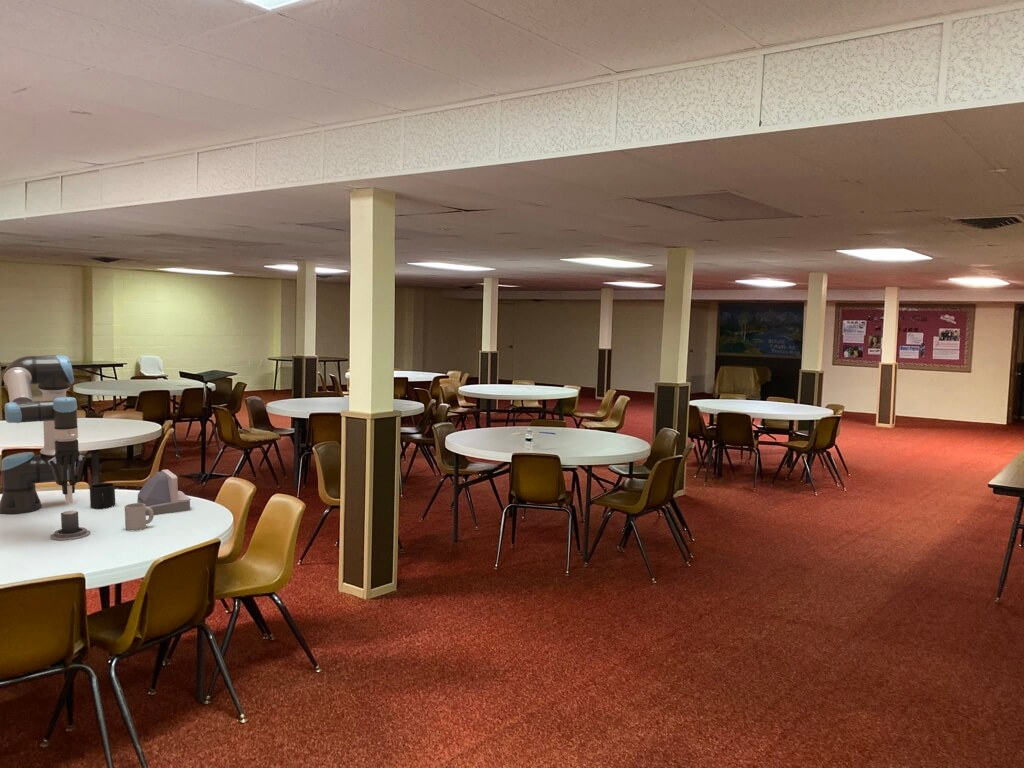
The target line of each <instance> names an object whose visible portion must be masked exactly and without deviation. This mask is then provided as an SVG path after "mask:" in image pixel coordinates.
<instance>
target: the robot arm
mask: <svg viewBox="0 0 1024 768" xmlns="http://www.w3.org/2000/svg"><path fill="white" fill-rule="evenodd" d="M2 376H3V378H2V381H3V382H4V385H5V386H6V387H7V391H8V392H7V393H8V400H9V402H7V403H5V404H4V417H5V422H6V423H8V424H21V423H22V424H23V423H34V422H43V424H42V425H43V447H42V448H41V449H40V451H39V455H38V454H37V455H36V454H35V453H34V452H33V451H28V452H27V451H23V452H18V453H14V454H10V455H6V456H5V457H3V459H2V460H1V469H0V471H1V475H2V479H1V480H2V494H1V498H0V514H6V515H15V514H25V513H31V512H34V511H39V510H40V509H42V502H41V499H40V497H39V494H38V492H37V489H36V488H37V487H36V484H40V483H51V482H55V484H56V485H59V486H61V488H62V489H61V490H62V491H61V492H62V495H64V497H65V498H64V499H65V500H64V501H65V503H66V504H72V503H73V501H74V500H73V494H75V491H76V484H77V483H78V484H79V483H80V482H81V478H82V474H83V470H84V464H85V462H86V460H87V458H88V457H87V456H85V455H82V454H81V453H80V451H79V440H78V438H79V433H78V432H79V431H78V430H79V429H78V427H79V426H78V404H77V403H78V402H77V399H76V398H75V397H73V396H72V397H71V396H67V391H68V390H69V389H71V385H72V384H74V383H75V376H74V370H73V366H72V362H71V360H70V358H69V356H67V355H57V354H54V355H27V356H26V355H25V356H22V357H19V358H17V359H14V360H13V361H12V362H10V363H9V364H8V365H7V366H6V368H5V369H4V371H3V374H2ZM31 385H37V389H38V390H39V391H40V392H41V393H42V400H37V401H34V398H33V393H32V387H31ZM77 461H78V462H77ZM76 464H77V466H76Z"/></svg>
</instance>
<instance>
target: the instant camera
mask: <svg viewBox="0 0 1024 768" xmlns="http://www.w3.org/2000/svg"><path fill="white" fill-rule="evenodd" d="M178 487H179V484H178V476H177V475H176V474H175V473H173V472H172V471H170V470H169V469H161V471H155V472H154V475H152V477H149V478H148V479H147V481H145V483H144V484H143V486H142V487H141V488H140V490H139V492H138V494H137V500H136V501H137V502H136V503H143V504H145V507H150V508H151V509H152V510H153V513H154V516H157V515H159V516H160V515H165V514H173V513H182V512H188V511H189V512H190V511H191V497H189V496H188V495H186V494H185V493H184V492H183V491H181V490H178ZM147 516H148V517H149V512H148V511H146V517H147Z"/></svg>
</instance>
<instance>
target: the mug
mask: <svg viewBox="0 0 1024 768" xmlns="http://www.w3.org/2000/svg"><path fill="white" fill-rule="evenodd" d="M89 501H90V503H89V504H90V505H89V506H90V508H91V509H93V508H94V510H95V509H96V510H101V509H102V510H103V508H105V509H110V508H113V507H115V506H114V505H116V489H115V484H114V483H111V482H110V483H109V482H105V483H95V484H91V485H90V486H89ZM112 506H113V507H112ZM109 507H110V508H109Z"/></svg>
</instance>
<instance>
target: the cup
mask: <svg viewBox="0 0 1024 768" xmlns="http://www.w3.org/2000/svg"><path fill="white" fill-rule="evenodd" d="M146 511H148V512H149V516H148V518H147V516H146ZM154 517H155V515H154V513H153V510H152V509H151V508H150V507H145V504H143V503H137V502H136V503H135V502H134V503H128V504H126V505H124V523H125V524H124V525H125V530H126V529H127V531H130V530H134V531H140V529H141V530H144V529H146V527H147V525H148V524H150V523H152V521H153V520H154Z"/></svg>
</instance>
